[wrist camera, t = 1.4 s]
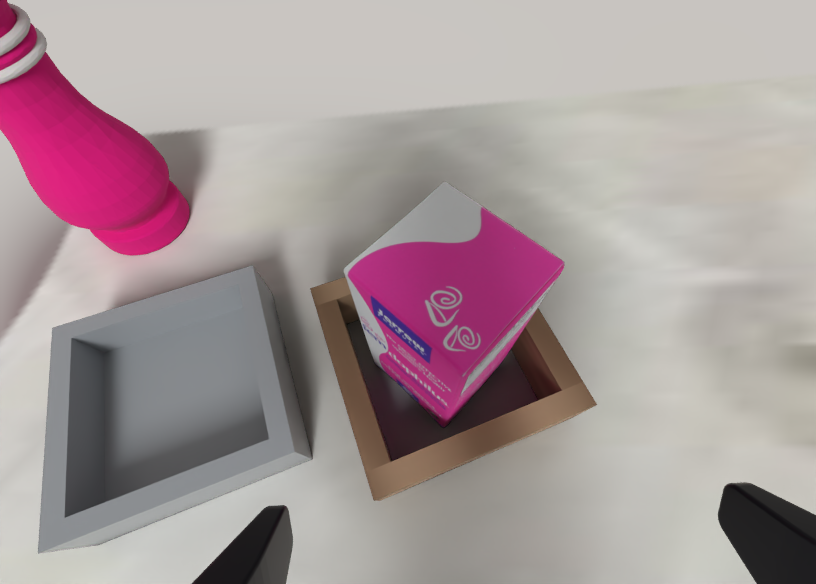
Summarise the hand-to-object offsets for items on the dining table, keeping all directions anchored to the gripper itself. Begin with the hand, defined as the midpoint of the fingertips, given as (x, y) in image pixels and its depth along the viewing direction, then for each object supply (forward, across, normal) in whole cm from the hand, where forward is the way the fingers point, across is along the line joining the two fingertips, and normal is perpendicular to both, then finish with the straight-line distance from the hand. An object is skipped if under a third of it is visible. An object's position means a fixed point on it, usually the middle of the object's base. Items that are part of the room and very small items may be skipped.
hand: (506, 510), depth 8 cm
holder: (+15, 0, +4) cm, 15 cm away
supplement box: (+15, 0, +4) cm, 16 cm away
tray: (+14, +14, +5) cm, 21 cm away
